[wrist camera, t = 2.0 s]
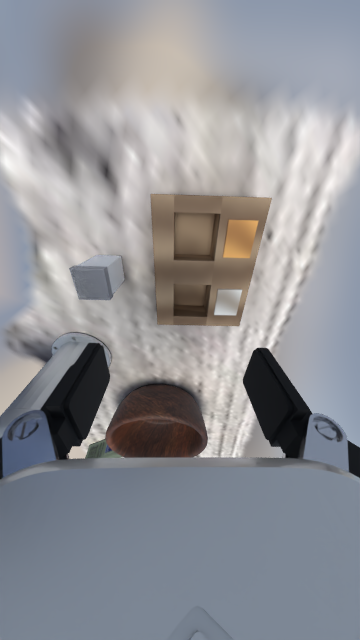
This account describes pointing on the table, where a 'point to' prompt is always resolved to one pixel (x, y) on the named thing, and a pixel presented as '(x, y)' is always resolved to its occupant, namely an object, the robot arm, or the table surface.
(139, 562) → the robot arm
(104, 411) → the table surface
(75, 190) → the table surface
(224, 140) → the table surface
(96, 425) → the table surface
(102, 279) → the plug
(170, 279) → the socket block
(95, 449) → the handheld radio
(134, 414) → the wooden bowl
